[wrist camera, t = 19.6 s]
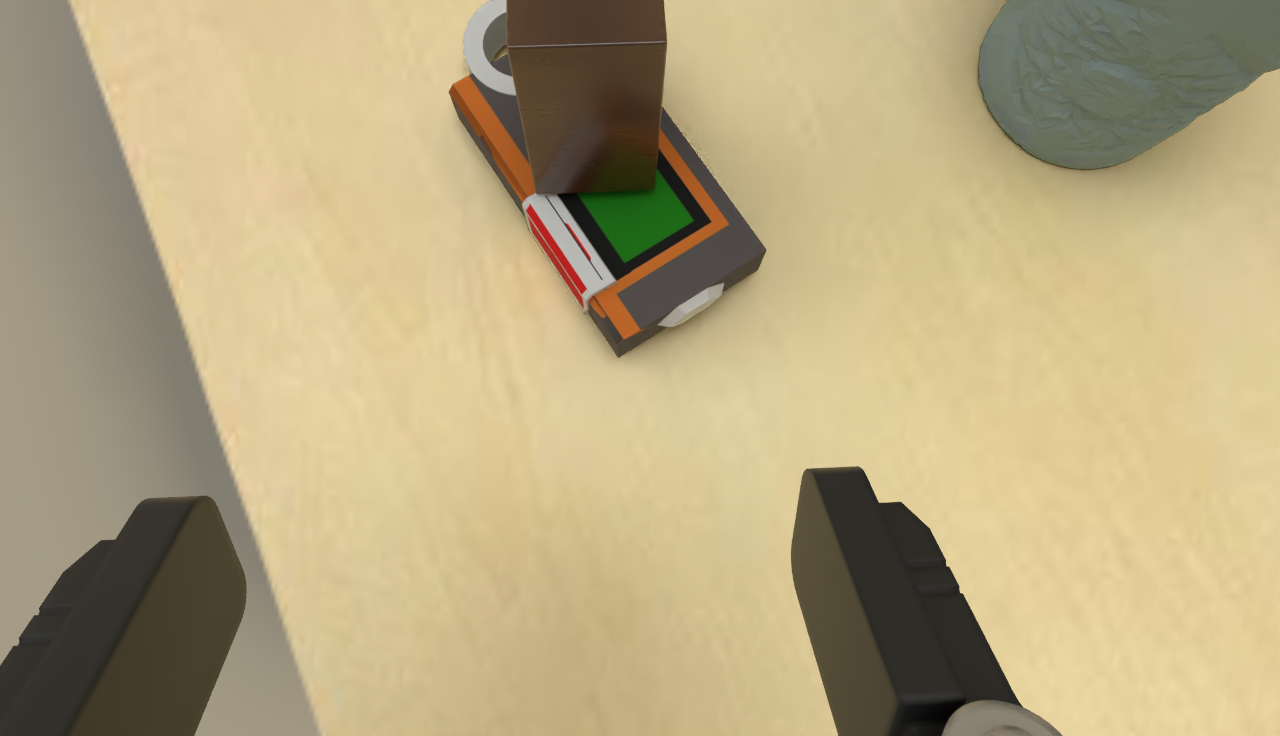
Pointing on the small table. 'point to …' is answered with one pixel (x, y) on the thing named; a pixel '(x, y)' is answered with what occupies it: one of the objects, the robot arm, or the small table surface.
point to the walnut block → (589, 91)
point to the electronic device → (611, 211)
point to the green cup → (1119, 71)
